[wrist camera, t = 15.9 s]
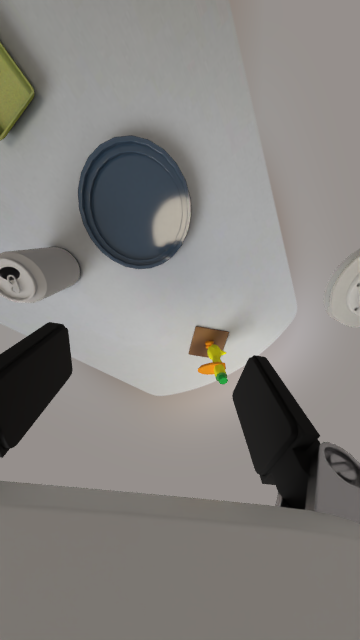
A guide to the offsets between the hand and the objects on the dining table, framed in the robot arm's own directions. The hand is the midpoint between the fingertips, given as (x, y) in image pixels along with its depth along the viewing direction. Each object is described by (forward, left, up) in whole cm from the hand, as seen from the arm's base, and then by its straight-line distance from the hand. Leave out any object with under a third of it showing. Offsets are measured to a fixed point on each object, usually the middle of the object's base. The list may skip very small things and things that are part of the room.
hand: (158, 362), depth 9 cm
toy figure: (-11, +16, -28) cm, 34 cm away
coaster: (-11, +16, -28) cm, 34 cm away
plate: (+8, -8, -28) cm, 30 cm away
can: (+22, +4, -28) cm, 36 cm away
